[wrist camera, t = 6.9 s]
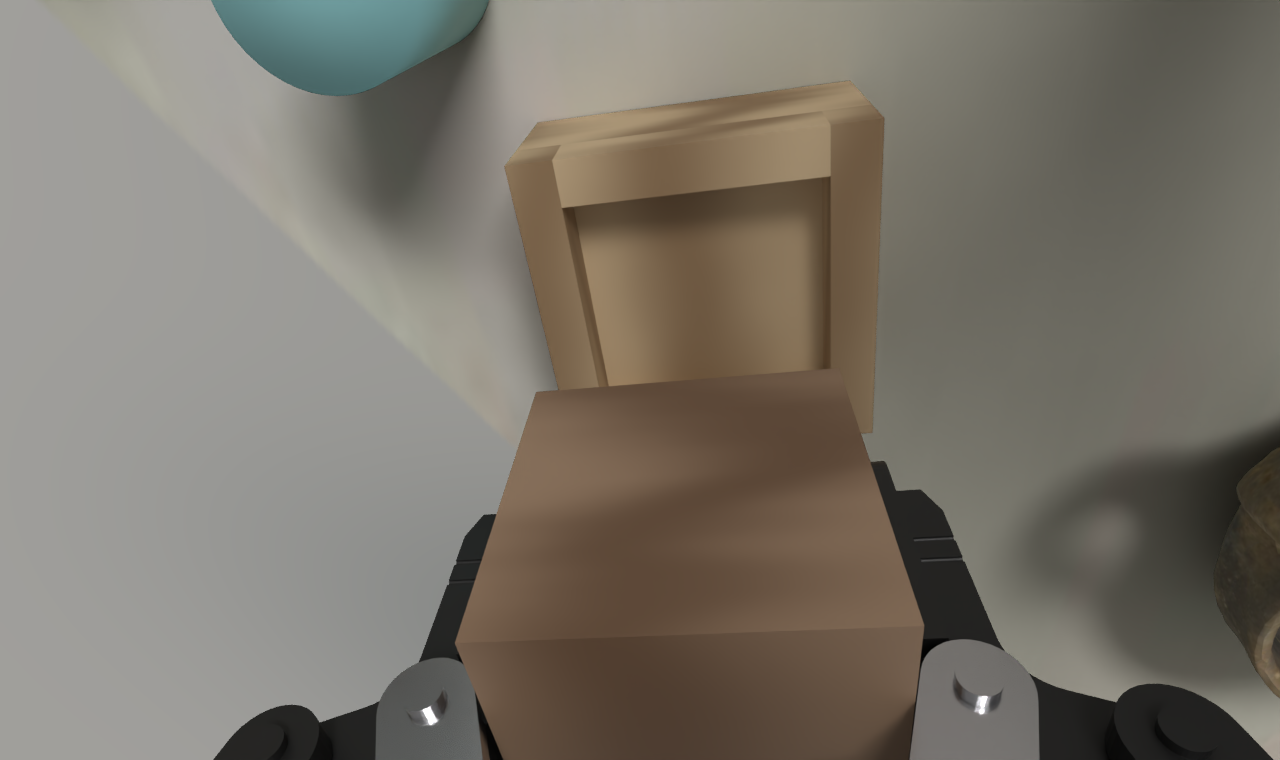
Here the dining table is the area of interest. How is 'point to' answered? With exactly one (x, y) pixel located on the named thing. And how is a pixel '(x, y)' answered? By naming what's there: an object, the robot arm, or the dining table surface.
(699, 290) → the oak base
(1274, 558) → the bowl
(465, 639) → the walnut block
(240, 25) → the teal cylinder
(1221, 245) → the dining table surface
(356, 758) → the robot arm
